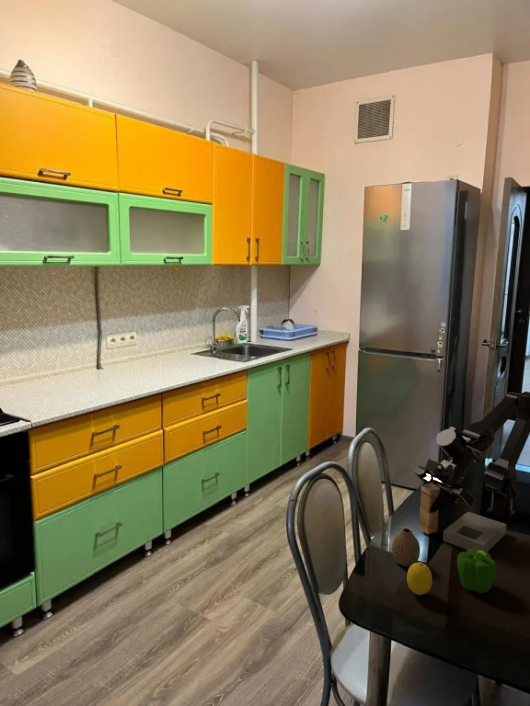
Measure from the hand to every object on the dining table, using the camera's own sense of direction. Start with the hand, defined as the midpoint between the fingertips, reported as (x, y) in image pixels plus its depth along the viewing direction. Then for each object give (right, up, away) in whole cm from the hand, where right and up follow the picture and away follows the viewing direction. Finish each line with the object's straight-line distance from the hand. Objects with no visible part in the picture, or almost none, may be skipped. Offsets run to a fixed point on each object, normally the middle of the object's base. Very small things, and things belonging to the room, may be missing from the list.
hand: (425, 509), depth 145 cm
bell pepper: (+4, -12, -23) cm, 26 cm away
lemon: (-10, -12, -26) cm, 30 cm away
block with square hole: (+14, -8, -1) cm, 16 cm away
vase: (-9, -10, -13) cm, 19 cm away
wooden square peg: (+1, -6, +2) cm, 7 cm away
